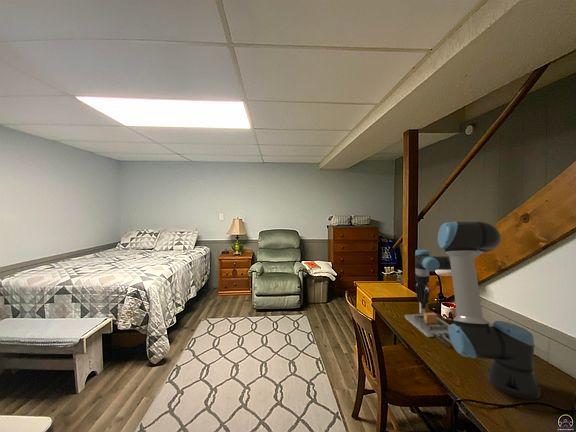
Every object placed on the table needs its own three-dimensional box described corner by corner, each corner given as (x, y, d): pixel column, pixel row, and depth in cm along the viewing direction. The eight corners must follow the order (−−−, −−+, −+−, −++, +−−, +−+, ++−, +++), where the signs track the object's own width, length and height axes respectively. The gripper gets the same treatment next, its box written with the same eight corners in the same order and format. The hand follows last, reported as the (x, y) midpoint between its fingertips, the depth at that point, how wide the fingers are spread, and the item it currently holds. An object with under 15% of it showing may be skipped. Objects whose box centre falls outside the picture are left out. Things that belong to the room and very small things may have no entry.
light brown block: (437, 323, 144) (437, 314, 144) (426, 323, 144) (426, 315, 143) (433, 320, 147) (433, 312, 147) (423, 321, 147) (423, 312, 146)
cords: (464, 347, 122) (464, 345, 122) (448, 348, 122) (448, 346, 122) (448, 336, 133) (448, 334, 133) (434, 336, 133) (434, 334, 133)
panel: (460, 335, 134) (460, 329, 133) (427, 337, 133) (427, 330, 133) (432, 316, 158) (432, 311, 157) (404, 317, 157) (404, 312, 157)
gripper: (434, 277, 146) (434, 317, 147) (422, 272, 159) (422, 308, 160) (422, 278, 146) (422, 317, 146) (410, 272, 159) (410, 308, 159)
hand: (422, 312), depth 153 cm, fingers closed
